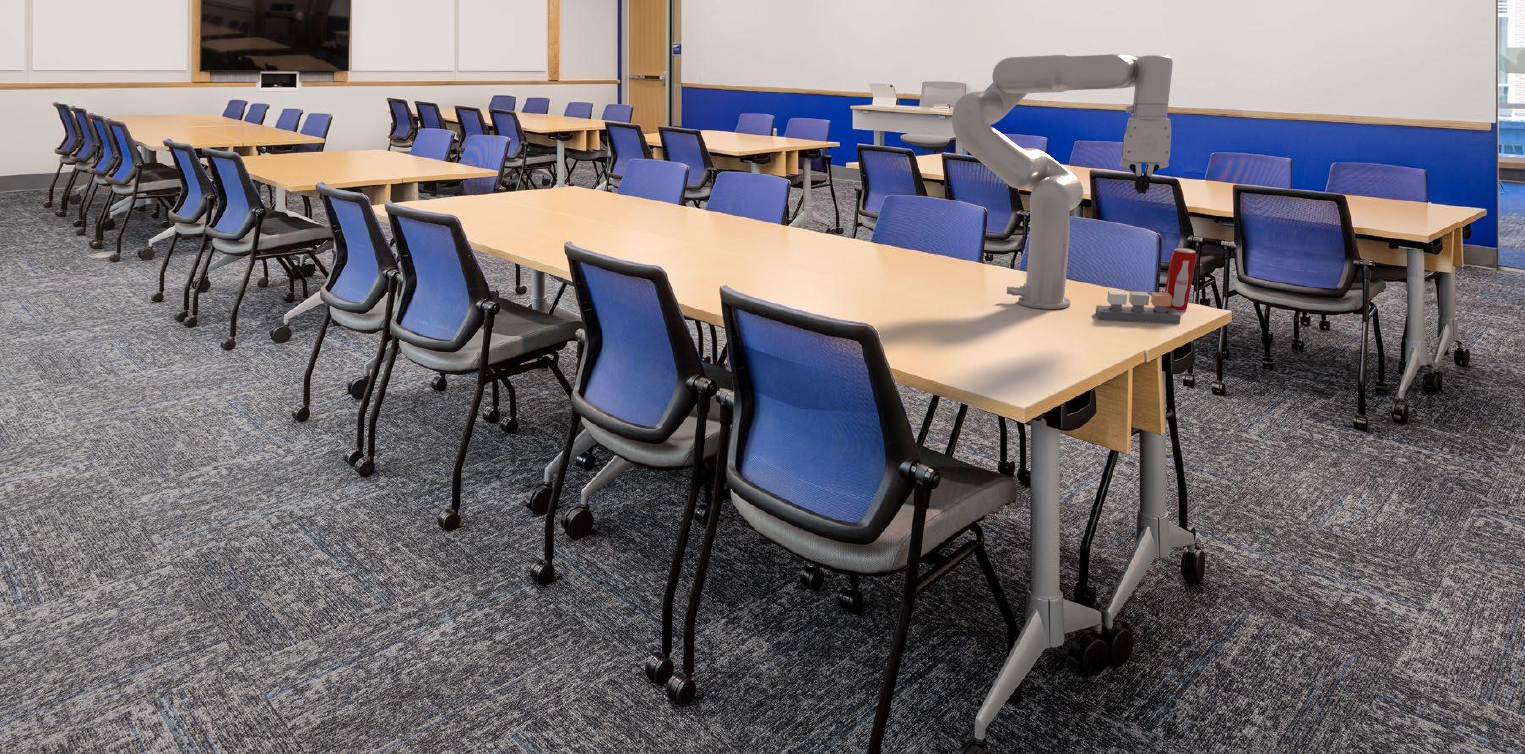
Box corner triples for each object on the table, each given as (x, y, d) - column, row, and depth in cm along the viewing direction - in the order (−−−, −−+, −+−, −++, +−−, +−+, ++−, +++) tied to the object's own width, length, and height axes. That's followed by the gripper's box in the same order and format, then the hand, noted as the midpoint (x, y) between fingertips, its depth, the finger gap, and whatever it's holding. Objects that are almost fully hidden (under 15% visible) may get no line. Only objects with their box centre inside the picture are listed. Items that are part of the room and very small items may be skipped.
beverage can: (1166, 305, 260) (1173, 246, 255) (1193, 309, 256) (1200, 249, 251) (1158, 309, 255) (1165, 249, 251) (1185, 313, 251) (1193, 252, 247)
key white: (1108, 314, 246) (1110, 294, 244) (1106, 310, 249) (1108, 290, 248) (1125, 315, 245) (1127, 294, 244) (1122, 311, 249) (1124, 291, 247)
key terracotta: (1152, 316, 244) (1154, 295, 243) (1149, 312, 248) (1151, 292, 246) (1169, 316, 243) (1171, 296, 242) (1166, 313, 247) (1168, 292, 246)
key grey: (1130, 315, 245) (1132, 294, 243) (1127, 311, 248) (1129, 291, 247) (1147, 315, 244) (1149, 295, 243) (1144, 312, 248) (1146, 292, 246)
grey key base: (1099, 320, 245) (1100, 311, 244) (1095, 313, 251) (1096, 305, 251) (1179, 323, 242) (1180, 315, 241) (1173, 316, 248) (1174, 308, 248)
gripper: (1118, 112, 234) (1110, 194, 239) (1187, 113, 232) (1178, 195, 237) (1113, 111, 241) (1105, 190, 246) (1180, 111, 239) (1171, 192, 244)
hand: (1141, 193), depth 242 cm, fingers closed
